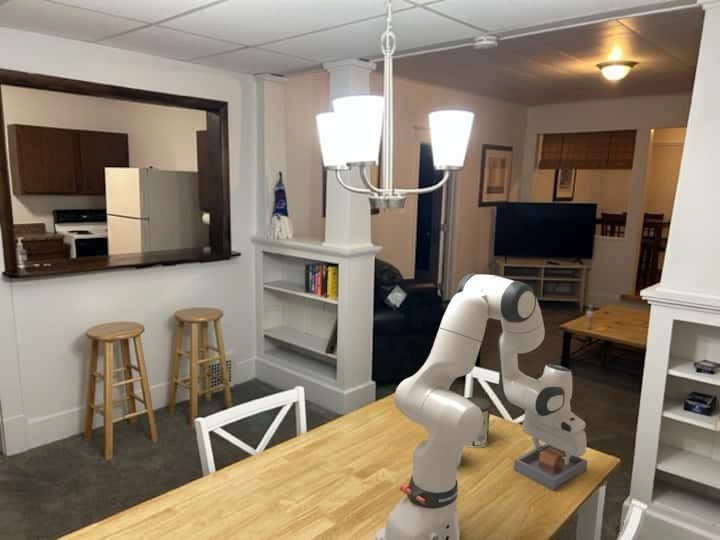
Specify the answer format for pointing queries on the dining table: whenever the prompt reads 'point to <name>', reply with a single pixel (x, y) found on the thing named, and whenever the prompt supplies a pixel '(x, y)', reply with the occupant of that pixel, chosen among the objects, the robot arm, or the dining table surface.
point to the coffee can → (483, 437)
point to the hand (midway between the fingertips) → (551, 457)
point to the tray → (531, 469)
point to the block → (550, 460)
